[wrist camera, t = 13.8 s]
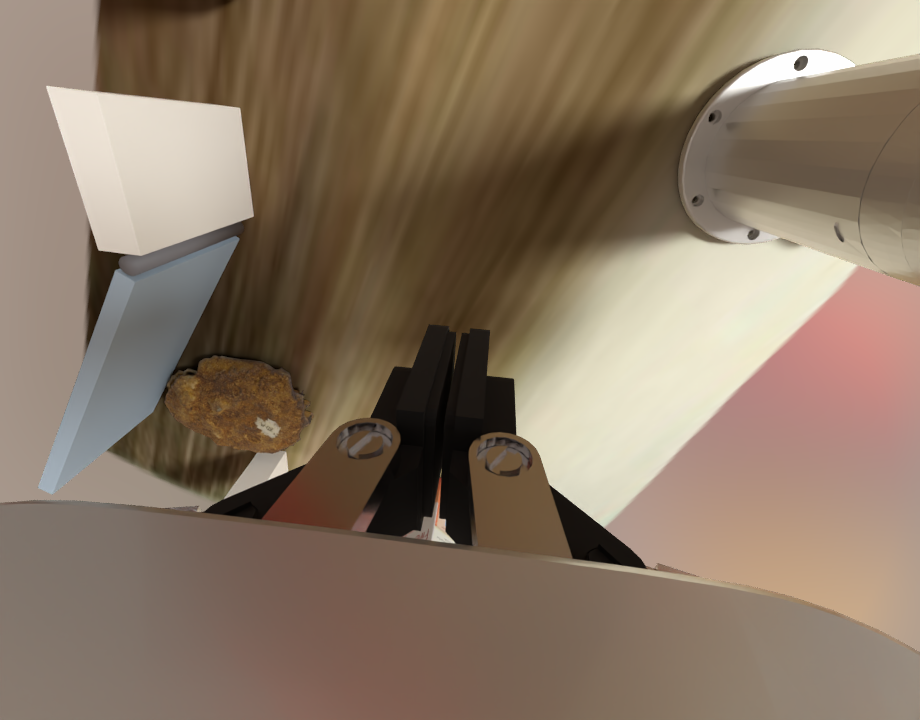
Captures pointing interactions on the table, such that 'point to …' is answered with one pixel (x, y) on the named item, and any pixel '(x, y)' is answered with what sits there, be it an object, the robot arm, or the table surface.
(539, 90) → the table surface
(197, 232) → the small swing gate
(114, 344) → the door
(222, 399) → the decorative rock
